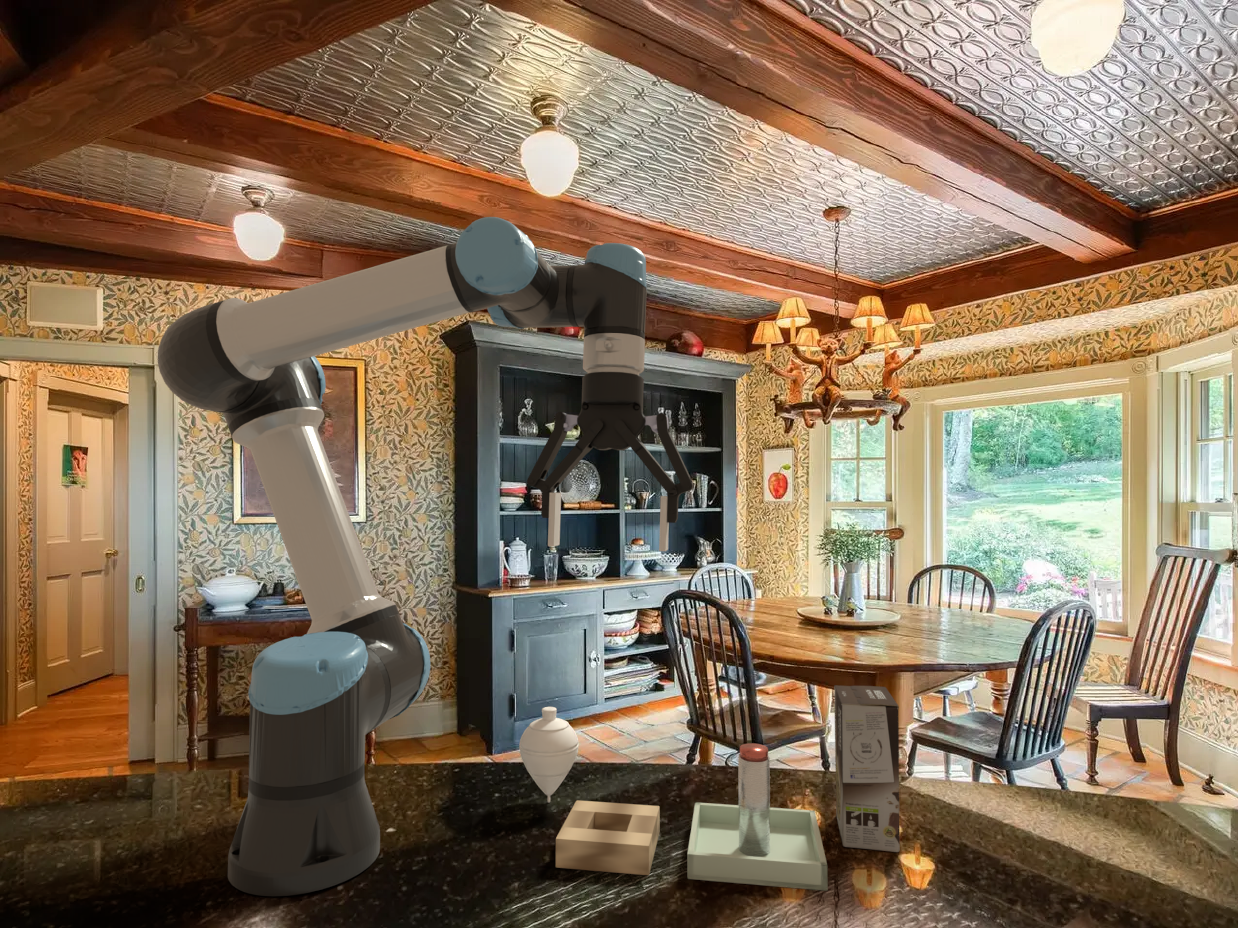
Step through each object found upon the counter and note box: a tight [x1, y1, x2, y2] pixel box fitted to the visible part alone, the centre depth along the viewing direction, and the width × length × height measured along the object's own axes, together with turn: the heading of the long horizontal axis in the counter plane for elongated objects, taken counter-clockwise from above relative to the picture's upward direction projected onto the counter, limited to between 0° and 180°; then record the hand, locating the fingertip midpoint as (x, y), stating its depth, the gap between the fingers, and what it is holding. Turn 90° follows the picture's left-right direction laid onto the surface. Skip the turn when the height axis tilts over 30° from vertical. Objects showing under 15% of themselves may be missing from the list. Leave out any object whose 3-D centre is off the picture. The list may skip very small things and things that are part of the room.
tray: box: [686, 801, 829, 892], centre depth 81 cm, size 14×13×2 cm
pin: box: [737, 742, 771, 857], centre depth 82 cm, size 3×3×11 cm
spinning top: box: [518, 706, 580, 803], centre depth 95 cm, size 8×8×12 cm
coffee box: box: [833, 684, 901, 853], centre depth 87 cm, size 9×6×16 cm
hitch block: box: [555, 800, 661, 876], centre depth 83 cm, size 10×10×3 cm
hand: (607, 548), depth 89 cm, fingers open, 13 cm apart
